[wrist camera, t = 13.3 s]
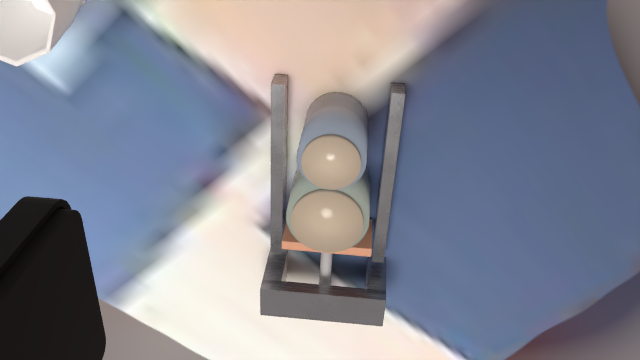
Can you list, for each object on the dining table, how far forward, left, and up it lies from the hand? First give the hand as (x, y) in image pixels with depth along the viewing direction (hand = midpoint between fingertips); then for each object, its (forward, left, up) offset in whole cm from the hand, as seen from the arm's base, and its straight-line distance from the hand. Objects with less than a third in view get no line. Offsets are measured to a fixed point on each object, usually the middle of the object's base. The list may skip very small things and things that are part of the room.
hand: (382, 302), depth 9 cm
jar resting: (+20, -2, -36) cm, 42 cm away
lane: (+21, -2, -36) cm, 42 cm away
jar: (+15, -2, -36) cm, 39 cm away
